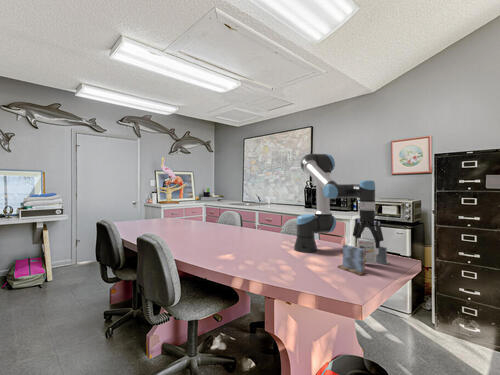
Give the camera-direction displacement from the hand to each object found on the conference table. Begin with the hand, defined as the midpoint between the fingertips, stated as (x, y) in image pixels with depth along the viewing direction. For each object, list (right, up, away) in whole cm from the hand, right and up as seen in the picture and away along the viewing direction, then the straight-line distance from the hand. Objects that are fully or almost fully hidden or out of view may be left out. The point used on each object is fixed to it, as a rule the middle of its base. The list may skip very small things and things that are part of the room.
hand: (367, 252), depth 138 cm
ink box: (0, -5, 0) cm, 5 cm away
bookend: (+8, -7, +5) cm, 12 cm away
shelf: (-1, -8, 0) cm, 8 cm away
